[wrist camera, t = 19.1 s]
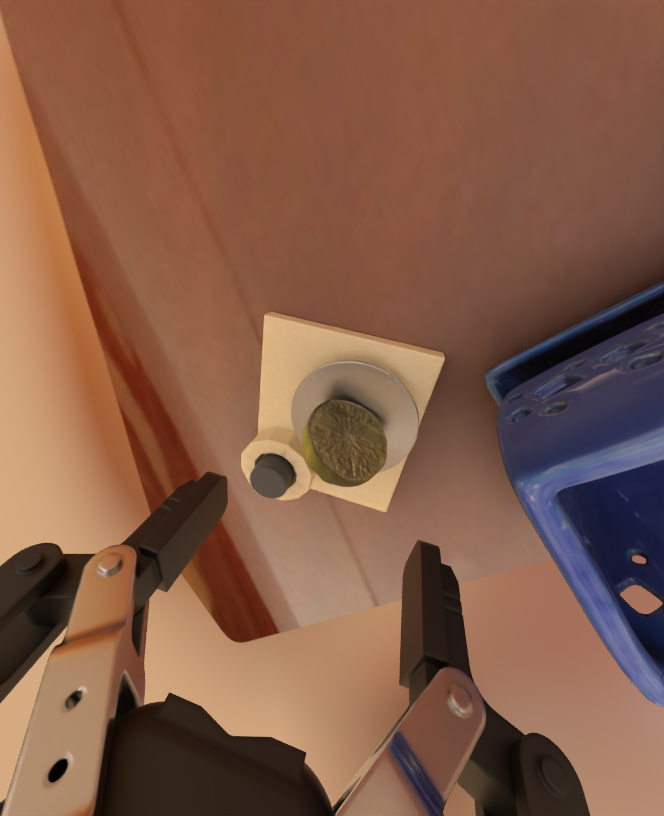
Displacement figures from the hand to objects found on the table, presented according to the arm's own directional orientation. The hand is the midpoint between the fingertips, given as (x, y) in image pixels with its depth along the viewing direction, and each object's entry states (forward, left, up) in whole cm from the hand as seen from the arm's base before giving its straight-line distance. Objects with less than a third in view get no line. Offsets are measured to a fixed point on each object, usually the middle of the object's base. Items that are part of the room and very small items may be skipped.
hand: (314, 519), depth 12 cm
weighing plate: (0, 0, -9) cm, 9 cm away
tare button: (+7, -5, -9) cm, 12 cm away
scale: (+2, -1, -12) cm, 12 cm away
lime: (0, 0, -8) cm, 8 cm away
